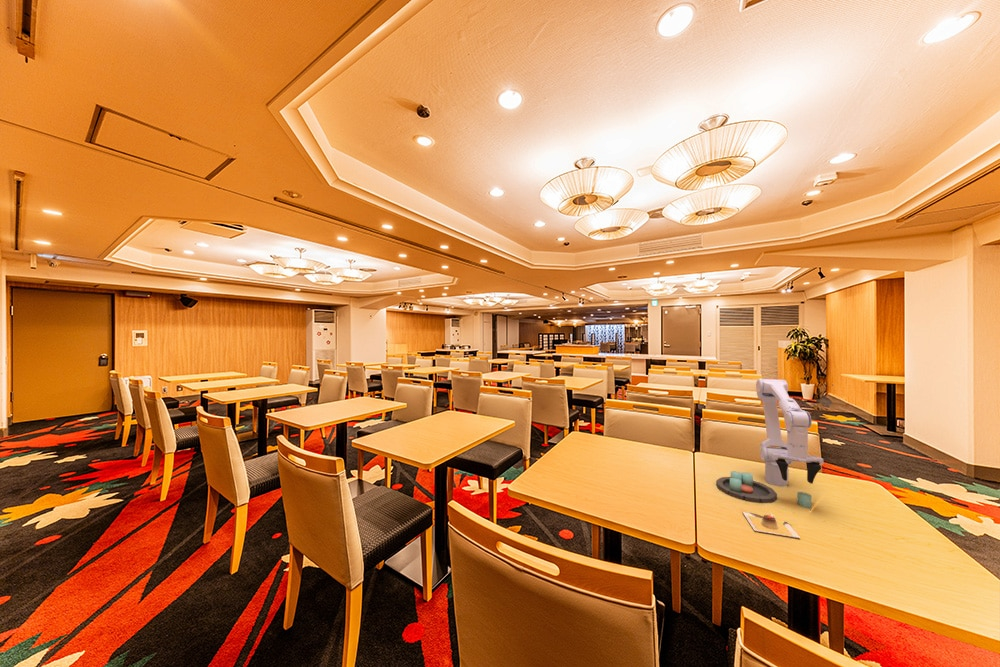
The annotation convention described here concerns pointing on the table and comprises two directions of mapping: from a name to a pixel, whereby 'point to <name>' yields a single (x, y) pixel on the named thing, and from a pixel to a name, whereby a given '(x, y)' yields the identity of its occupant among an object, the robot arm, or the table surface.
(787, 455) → the robot arm
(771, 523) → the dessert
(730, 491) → the ring tray
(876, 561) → the table surface
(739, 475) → the bead
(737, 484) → the grey green cylinder
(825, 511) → the table surface
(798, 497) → the bead
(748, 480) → the pale green cylinder
